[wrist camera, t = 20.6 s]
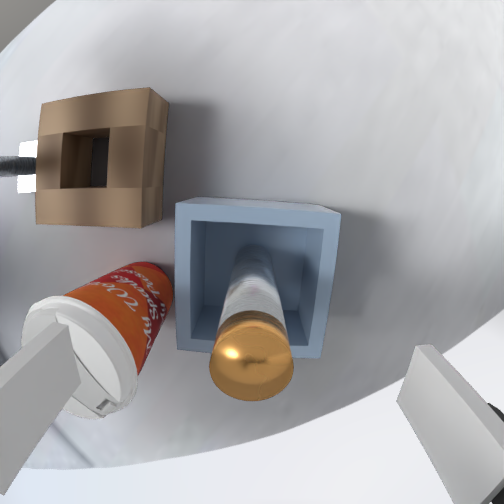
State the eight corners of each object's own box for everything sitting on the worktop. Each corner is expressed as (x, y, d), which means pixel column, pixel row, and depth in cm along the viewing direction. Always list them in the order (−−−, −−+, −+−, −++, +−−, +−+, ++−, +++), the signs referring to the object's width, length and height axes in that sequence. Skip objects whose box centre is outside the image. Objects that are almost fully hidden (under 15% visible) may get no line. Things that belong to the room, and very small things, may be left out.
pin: (235, 243, 25) (209, 330, 10) (273, 246, 25) (298, 335, 10) (233, 279, 25) (209, 398, 11) (270, 281, 25) (288, 402, 11)
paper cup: (202, 292, 27) (158, 386, 13) (151, 343, 28) (91, 442, 14) (139, 230, 26) (41, 270, 12) (93, 287, 27) (0, 353, 13)
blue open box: (195, 309, 27) (177, 349, 20) (197, 196, 25) (175, 203, 18) (306, 316, 27) (320, 358, 20) (318, 204, 25) (341, 213, 18)
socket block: (67, 216, 25) (36, 224, 20) (72, 112, 23) (41, 103, 18) (162, 219, 25) (141, 228, 20) (168, 103, 23) (149, 87, 18)
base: (25, 191, 25) (18, 192, 24) (27, 143, 24) (20, 143, 22) (59, 190, 25) (52, 190, 24) (61, 138, 24) (54, 137, 22)
